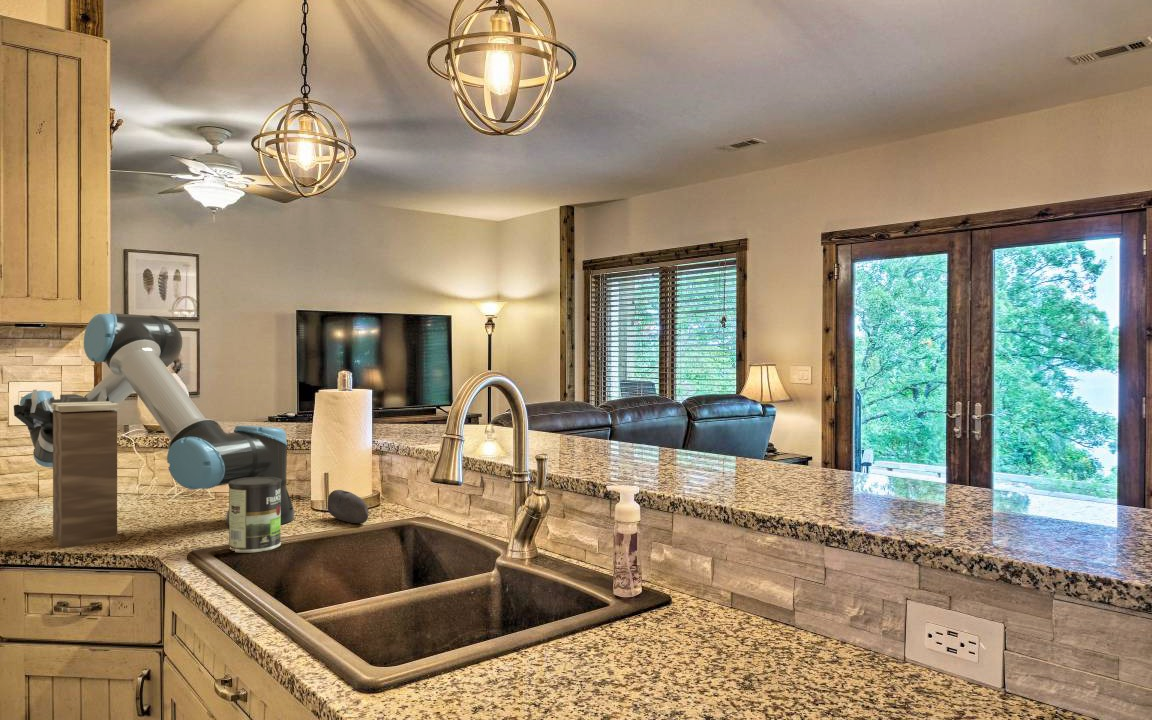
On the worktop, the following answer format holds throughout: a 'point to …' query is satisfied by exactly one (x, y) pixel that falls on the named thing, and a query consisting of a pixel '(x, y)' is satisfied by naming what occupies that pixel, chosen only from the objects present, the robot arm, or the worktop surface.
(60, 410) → the lid
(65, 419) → the upright wooden block
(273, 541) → the coffee can
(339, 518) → the dark grey stone
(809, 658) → the worktop surface
